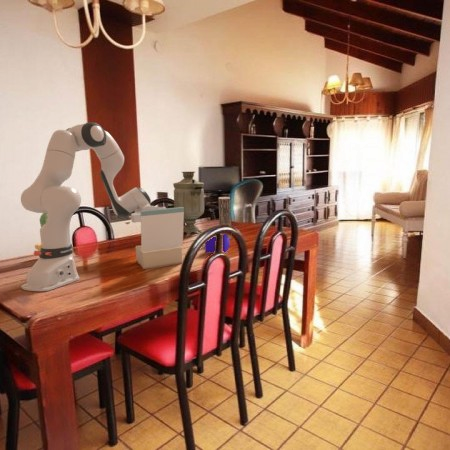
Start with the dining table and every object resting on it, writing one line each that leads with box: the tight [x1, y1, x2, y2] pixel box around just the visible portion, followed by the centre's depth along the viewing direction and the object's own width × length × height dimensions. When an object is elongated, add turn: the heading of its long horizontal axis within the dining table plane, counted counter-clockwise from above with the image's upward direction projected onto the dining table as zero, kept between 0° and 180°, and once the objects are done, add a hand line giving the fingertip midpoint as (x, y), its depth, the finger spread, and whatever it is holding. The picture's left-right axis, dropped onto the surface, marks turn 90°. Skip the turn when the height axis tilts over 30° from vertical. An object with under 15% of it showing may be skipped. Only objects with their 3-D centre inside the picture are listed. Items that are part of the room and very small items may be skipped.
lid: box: [140, 207, 185, 252], centre depth 161 cm, size 19×19×1 cm
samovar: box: [167, 171, 205, 236], centre depth 235 cm, size 30×26×40 cm
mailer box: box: [135, 244, 183, 270], centre depth 172 cm, size 15×18×8 cm
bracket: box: [204, 234, 231, 254], centre depth 194 cm, size 18×11×12 cm, turn 159°
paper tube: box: [218, 196, 232, 240], centre depth 216 cm, size 7×7×25 cm
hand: (156, 218), depth 170 cm, fingers closed
